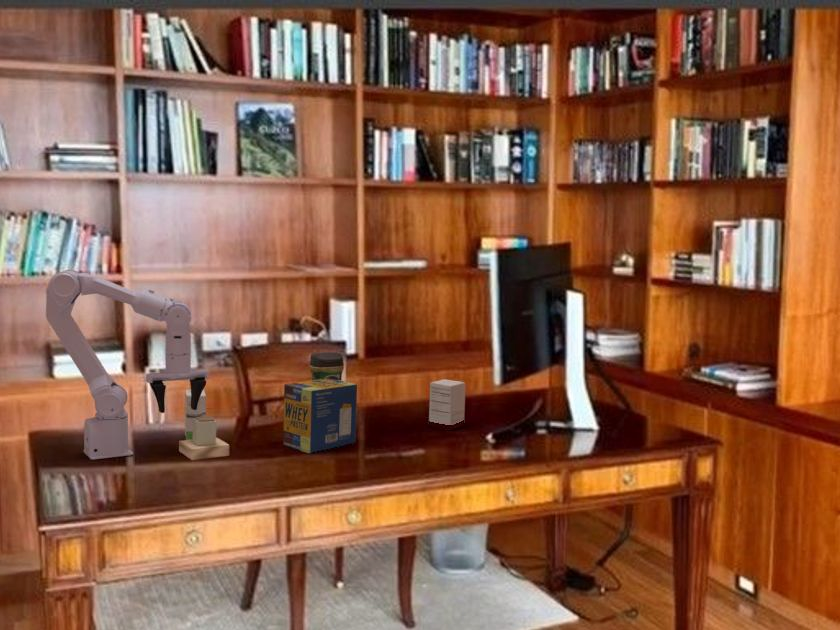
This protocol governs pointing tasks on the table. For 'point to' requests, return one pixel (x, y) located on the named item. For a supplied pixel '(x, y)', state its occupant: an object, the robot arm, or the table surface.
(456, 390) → the supplement box
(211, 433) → the sage box
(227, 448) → the maple block
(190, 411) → the ink box
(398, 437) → the table surface
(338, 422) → the protein box
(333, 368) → the coffee jar
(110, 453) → the robot arm
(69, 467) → the table surface
